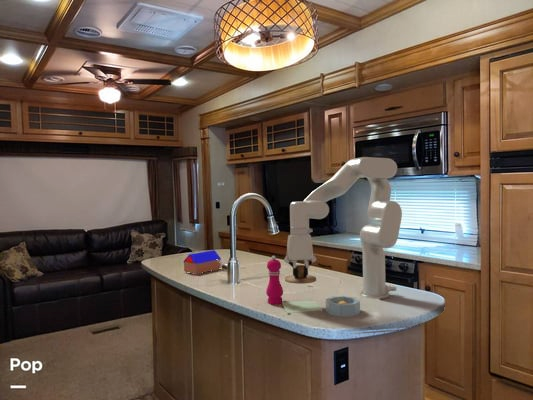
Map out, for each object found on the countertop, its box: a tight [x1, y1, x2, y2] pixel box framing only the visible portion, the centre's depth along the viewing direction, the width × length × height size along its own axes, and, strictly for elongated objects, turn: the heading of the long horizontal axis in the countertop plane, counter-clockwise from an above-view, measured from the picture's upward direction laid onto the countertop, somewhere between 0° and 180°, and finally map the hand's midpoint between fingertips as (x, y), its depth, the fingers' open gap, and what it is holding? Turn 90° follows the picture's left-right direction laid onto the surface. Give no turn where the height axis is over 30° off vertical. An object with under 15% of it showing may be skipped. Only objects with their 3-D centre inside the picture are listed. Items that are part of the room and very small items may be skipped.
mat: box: [281, 300, 324, 315], centre depth 158 cm, size 14×14×1 cm
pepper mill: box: [265, 255, 284, 305], centre depth 166 cm, size 7×7×20 cm
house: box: [183, 249, 222, 275], centre depth 238 cm, size 12×20×12 cm, turn 139°
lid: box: [284, 264, 317, 285], centre depth 157 cm, size 13×13×6 cm
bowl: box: [325, 295, 361, 318], centre depth 149 cm, size 12×12×5 cm
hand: (300, 276), depth 157 cm, fingers closed on lid, 3 cm apart
